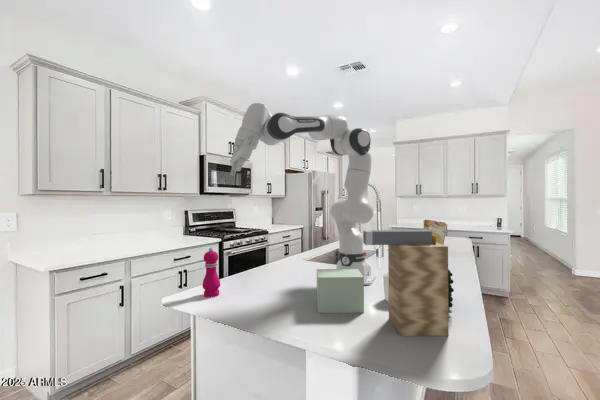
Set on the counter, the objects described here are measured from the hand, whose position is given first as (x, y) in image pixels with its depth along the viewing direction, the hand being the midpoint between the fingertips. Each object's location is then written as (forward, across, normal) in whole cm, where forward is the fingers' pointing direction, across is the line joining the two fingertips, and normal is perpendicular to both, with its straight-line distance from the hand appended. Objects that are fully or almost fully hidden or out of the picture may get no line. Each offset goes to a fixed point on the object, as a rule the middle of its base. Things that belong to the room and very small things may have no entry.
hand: (234, 172), depth 118 cm
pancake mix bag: (+11, 0, -111) cm, 111 cm away
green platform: (+36, -17, -50) cm, 64 cm away
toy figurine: (+24, -29, -85) cm, 93 cm away
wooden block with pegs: (+33, -42, -63) cm, 83 cm away
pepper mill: (+49, +18, -11) cm, 53 cm away
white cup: (+28, -20, -72) cm, 80 cm away
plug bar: (+11, -42, -48) cm, 65 cm away
